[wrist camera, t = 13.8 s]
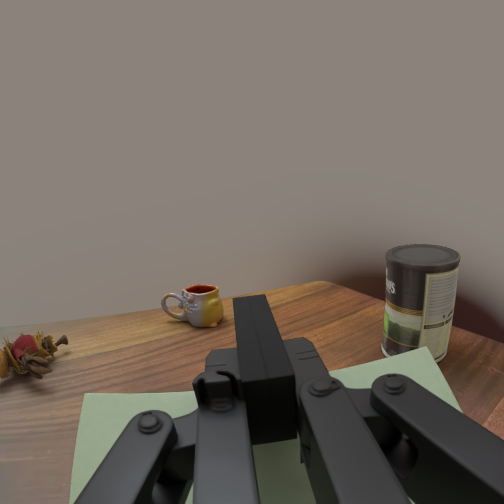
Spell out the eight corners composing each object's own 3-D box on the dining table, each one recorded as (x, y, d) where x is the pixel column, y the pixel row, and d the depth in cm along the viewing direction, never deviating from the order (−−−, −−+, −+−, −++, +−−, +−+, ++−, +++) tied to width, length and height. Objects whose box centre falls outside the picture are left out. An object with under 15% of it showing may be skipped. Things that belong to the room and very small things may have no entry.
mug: (228, 313, 60) (224, 281, 58) (218, 329, 53) (213, 294, 52) (173, 313, 62) (167, 282, 61) (158, 327, 56) (151, 294, 54)
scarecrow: (6, 356, 44) (-8, 319, 42) (73, 346, 49) (60, 307, 47) (-24, 403, 28) (-46, 359, 26) (55, 398, 33) (34, 350, 31)
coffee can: (377, 366, 37) (383, 263, 33) (383, 330, 46) (386, 243, 42) (451, 368, 32) (467, 264, 29) (444, 332, 41) (453, 244, 38)
